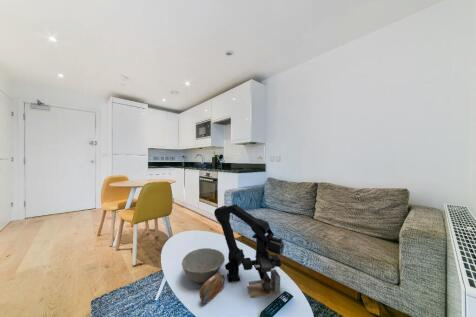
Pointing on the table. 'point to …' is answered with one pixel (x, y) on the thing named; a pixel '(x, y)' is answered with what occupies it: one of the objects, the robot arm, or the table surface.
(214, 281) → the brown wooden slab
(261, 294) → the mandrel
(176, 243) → the table surface
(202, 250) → the ceramic bowl
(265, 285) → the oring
